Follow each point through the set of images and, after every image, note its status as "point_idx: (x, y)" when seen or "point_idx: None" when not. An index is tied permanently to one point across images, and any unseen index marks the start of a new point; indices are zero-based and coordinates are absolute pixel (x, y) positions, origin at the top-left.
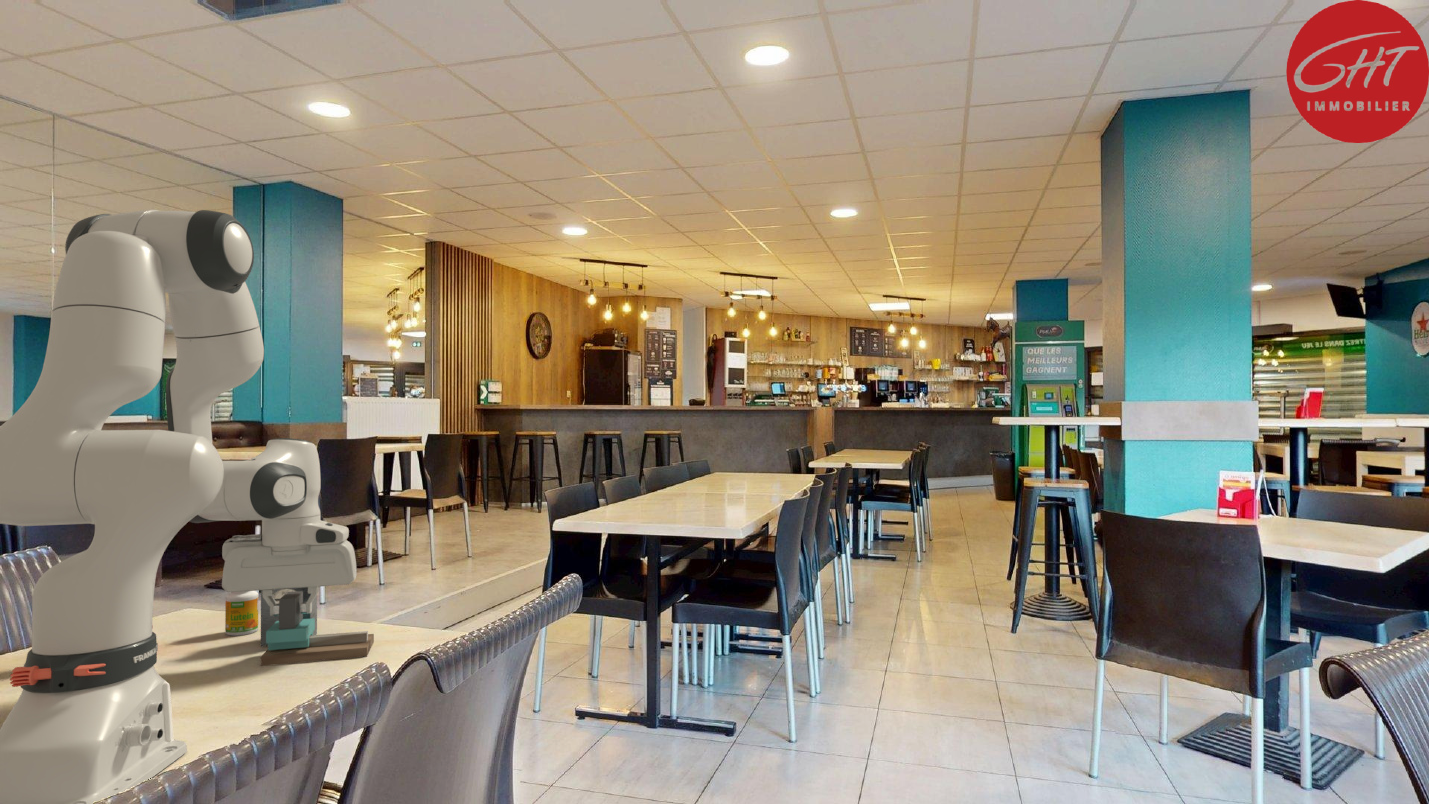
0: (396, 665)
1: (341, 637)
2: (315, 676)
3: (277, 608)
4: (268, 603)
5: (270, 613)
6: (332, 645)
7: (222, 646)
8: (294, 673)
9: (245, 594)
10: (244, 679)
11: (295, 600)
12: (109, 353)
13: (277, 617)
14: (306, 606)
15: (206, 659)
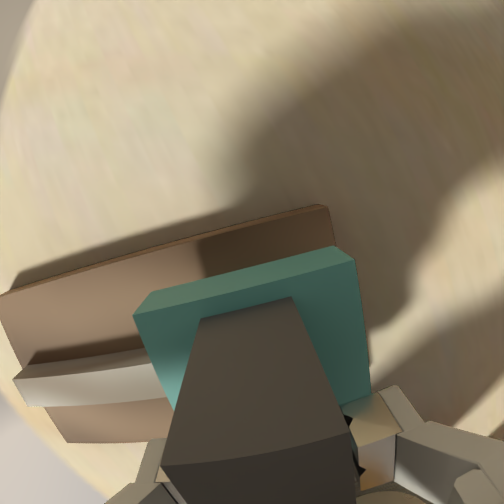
0: None
1: (74, 369)
2: (61, 84)
3: (366, 428)
4: (444, 431)
5: (398, 389)
6: (104, 345)
7: (483, 397)
8: (138, 106)
9: None
10: (292, 51)
11: (169, 455)
12: None
13: (389, 489)
14: (160, 467)
15: (497, 292)
